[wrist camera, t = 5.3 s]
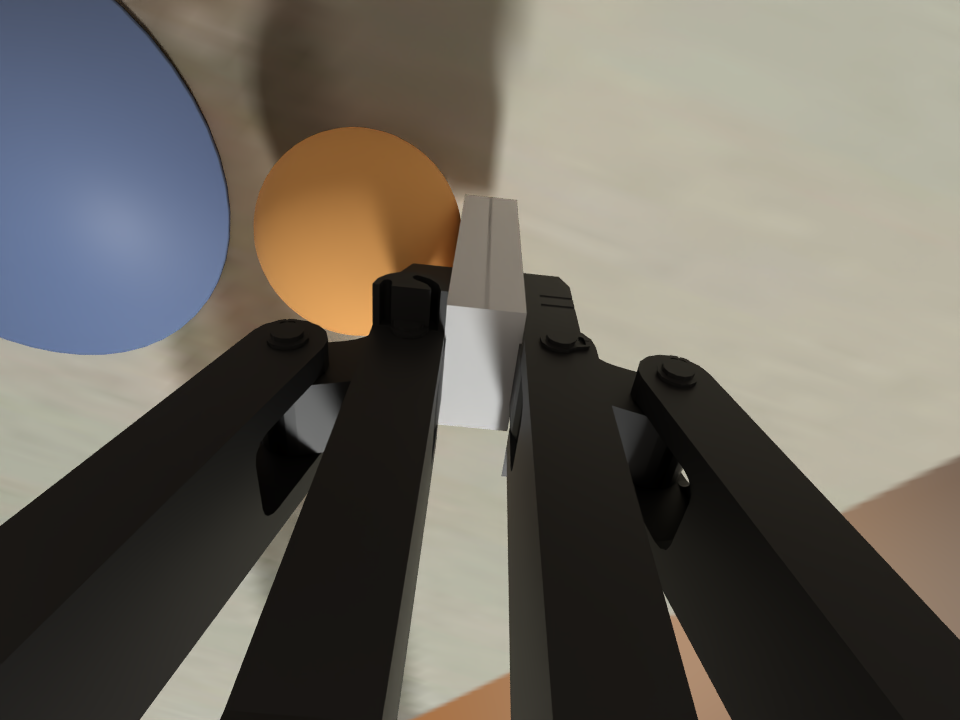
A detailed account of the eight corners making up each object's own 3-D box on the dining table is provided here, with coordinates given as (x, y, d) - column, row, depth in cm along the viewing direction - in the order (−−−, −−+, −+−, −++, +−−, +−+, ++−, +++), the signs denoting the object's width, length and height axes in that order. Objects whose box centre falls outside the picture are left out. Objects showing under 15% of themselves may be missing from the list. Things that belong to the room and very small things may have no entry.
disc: (73, 406, 22) (70, 409, 22) (-318, 112, 16) (-327, 113, 16) (315, 227, 18) (313, 230, 18) (-94, -246, 12) (-101, -249, 12)
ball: (440, 334, 19) (271, 369, 16) (399, 180, 19) (227, 191, 17) (521, 288, 14) (298, 326, 12) (464, 82, 14) (235, 77, 12)
